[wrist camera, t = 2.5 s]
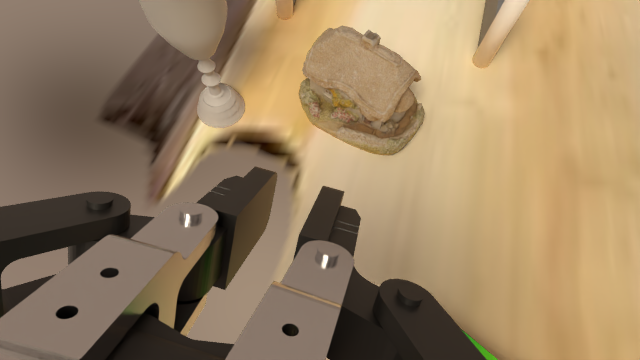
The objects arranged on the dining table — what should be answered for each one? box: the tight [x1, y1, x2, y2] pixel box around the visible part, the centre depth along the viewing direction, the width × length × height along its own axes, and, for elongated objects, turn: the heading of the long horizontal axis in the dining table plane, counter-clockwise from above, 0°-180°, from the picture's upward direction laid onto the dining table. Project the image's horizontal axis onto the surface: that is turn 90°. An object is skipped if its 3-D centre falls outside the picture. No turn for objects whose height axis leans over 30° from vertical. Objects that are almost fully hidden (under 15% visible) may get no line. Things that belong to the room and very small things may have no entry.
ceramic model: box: [299, 26, 425, 155], centre depth 39 cm, size 14×11×10 cm
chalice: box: [139, 0, 245, 128], centre depth 35 cm, size 7×7×18 cm
